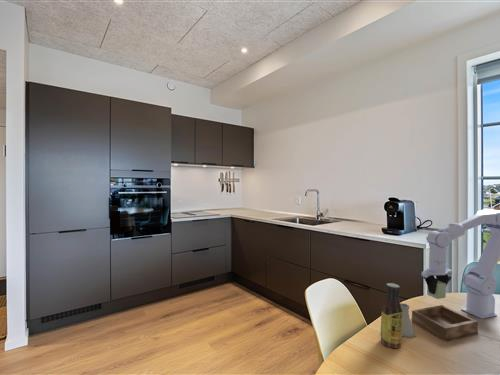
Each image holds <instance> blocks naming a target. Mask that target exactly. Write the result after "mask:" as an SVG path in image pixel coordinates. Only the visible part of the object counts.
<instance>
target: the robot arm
mask: <svg viewBox="0 0 500 375" xmlns="http://www.w3.org/2000/svg"><path fill="white" fill-rule="evenodd" d="M481 225H484V226H485V227H486V228H487V229H488V230H489V232H490V235H489V238H488V240H487V241H486V244H485V246H484V248H483V250H482V253H481V255H480V257H479V259H478V261H477V263H476V266H473V267H470V268H469V269H468V271H467V272H466V273H465V274H464V275H463V276H462V282H463V285H464V286H465V289H466V306H465V307H461V308H460V310H461V311H464V312H465V313H468V314H471V315H473V316H475V317H477V318H479V319H486V318H491V317H495V316H498V313H496V312H495V311H496V309H495V308H496V299H495V296H494V295H493V294H494V293H495V292H496V288H497V286H496V283H497V281H498V280H497V278H496V276H495V275H494V271H495V269H496V266H497V264H498V262H499V261H500V209H499V210H498V209H489V208H482V209H481V210H478V211H477V212H476V213H475V214H474V215H472V216H470V217H469V218H468V217H467V219H465V220H463V221H461V222H459V223H457V222H449V223H448V225H447V226H444V227H442V228H438V230H432V231H430V232H429V233H428V234H427V236H426V237H425V238H426V242H427V243H428V246H429V251H428V252H429V254H428V255H429V256H428V267H426V270H423V271H421V277H422V278H423V279H424V281H425V283H426V285H427V286H428V290H429V293H432V294H435V292H436V285H437V283H438V281H441V282H444V283H446V287H447V285H448V284H449V282H450V281H451V279H452V275H453V270H452V269H450V268H446V267H447V247H448V246H450V244H451V242H452V241H454V240H456V239H458V238H460V237H463V236H464V235H465V234H466V233H465V232H466V231H468V230H471V229H473V228H476V227H478V226H481ZM450 275H451V276H450ZM427 286H426V287H427Z"/></svg>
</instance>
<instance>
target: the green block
mask: <svg viewBox="0 0 500 375" xmlns="http://www.w3.org/2000/svg"><path fill="white" fill-rule="evenodd" d="M426 287H427V288H426V295H427V296H429V297H432V298H434V299H436V300H440V299H446V292H447V290H446V289H447V288H446V287H447V286H446V283H444V282H441V281H438V283H437V285H436V292H435V294H432V293H429V290H428V286H426Z"/></svg>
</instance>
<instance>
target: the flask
mask: <svg viewBox="0 0 500 375" xmlns="http://www.w3.org/2000/svg"><path fill="white" fill-rule="evenodd" d="M400 304H401V308H402V311H403V316H402V337H404V338H405V337H406V338H413V337H414V338H415V337H416V333H415V330H414V327H413V325H412V320H411V318H410V314H409V311H410V310H409V309H410V308H411V307H410V305H409V304H407V303H403V302H400Z"/></svg>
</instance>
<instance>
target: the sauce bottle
mask: <svg viewBox="0 0 500 375" xmlns="http://www.w3.org/2000/svg"><path fill="white" fill-rule="evenodd" d="M385 286H386V294H385V296H386V297H385V298H384V300H383V301H382V303H381V315H380V316H381V318H380V341H381V343H382V345H384V346H386V347H388V348H391V349H399V348H400V347H401V344H402V338H403V336H402V316H403V311H402V308H401V304H400V303H401V301H400V290H401V287H400V285H399V284H396V283H393V282H388V283H386V284H385Z"/></svg>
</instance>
